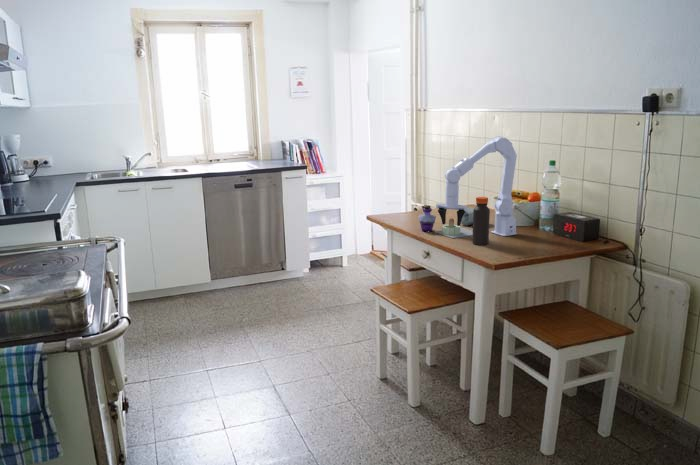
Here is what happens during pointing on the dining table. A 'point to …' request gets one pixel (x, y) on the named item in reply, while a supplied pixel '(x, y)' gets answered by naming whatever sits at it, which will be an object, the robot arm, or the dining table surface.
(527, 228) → the dining table surface
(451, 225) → the wooden dowel
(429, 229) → the potion bottle
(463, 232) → the mat
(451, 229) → the bead
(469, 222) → the yarn skein
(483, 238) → the vinegar
